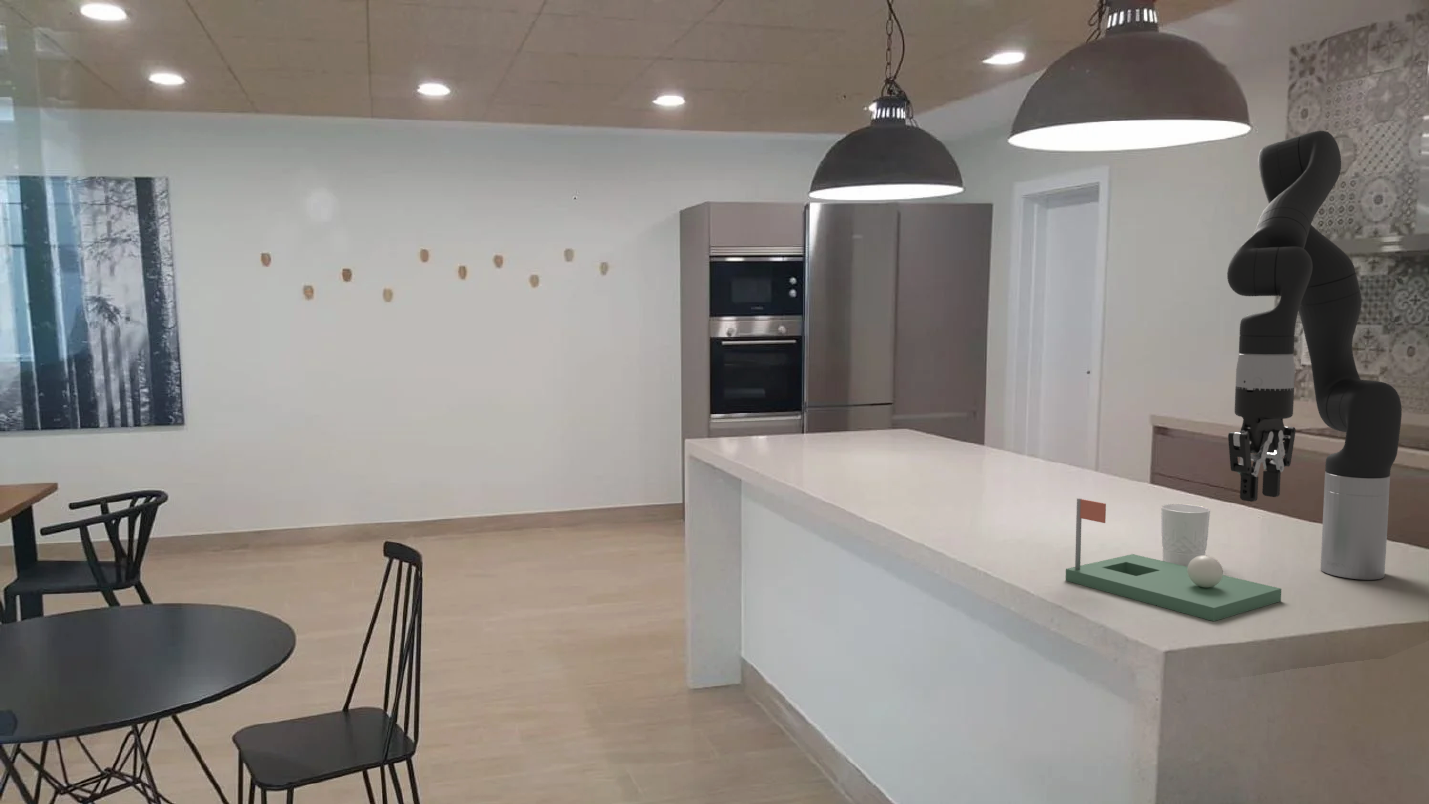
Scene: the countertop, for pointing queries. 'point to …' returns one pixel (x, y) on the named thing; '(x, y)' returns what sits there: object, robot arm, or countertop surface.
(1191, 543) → the white cup
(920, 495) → the countertop surface
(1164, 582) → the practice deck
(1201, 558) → the ball
